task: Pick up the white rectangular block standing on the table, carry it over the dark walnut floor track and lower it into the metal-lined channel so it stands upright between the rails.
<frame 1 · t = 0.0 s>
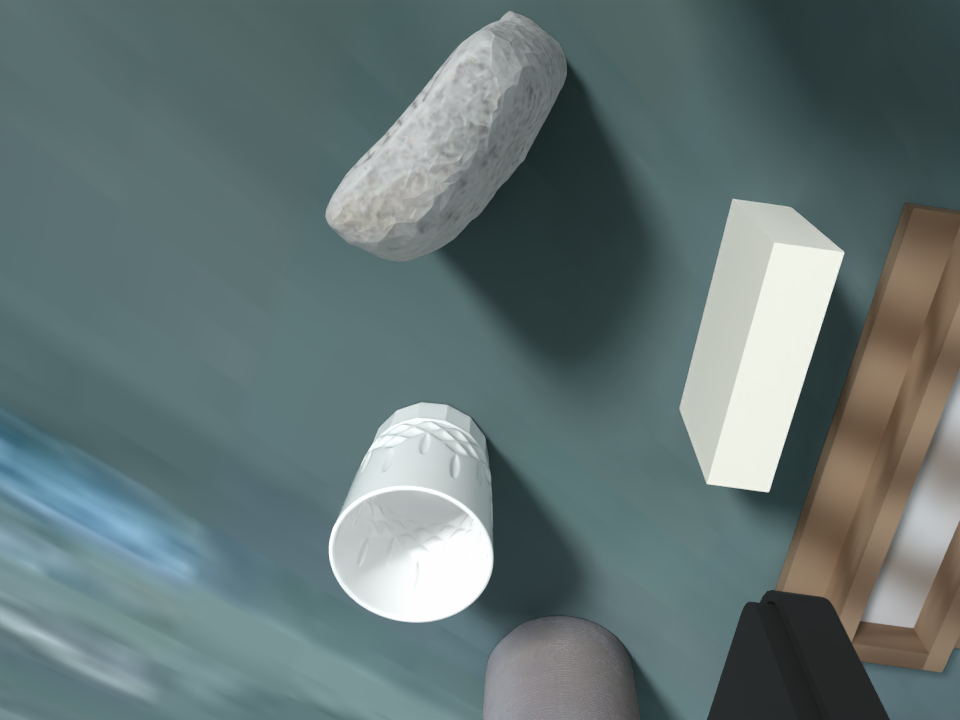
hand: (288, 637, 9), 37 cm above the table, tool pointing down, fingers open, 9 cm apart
white rectangular block: (732, 312, 46), on the table
decorative stone: (472, 120, 43), on the table
pillar candle: (557, 669, 57), on the table
track frame: (934, 444, 49), on the table
white cup: (431, 451, 51), on the table
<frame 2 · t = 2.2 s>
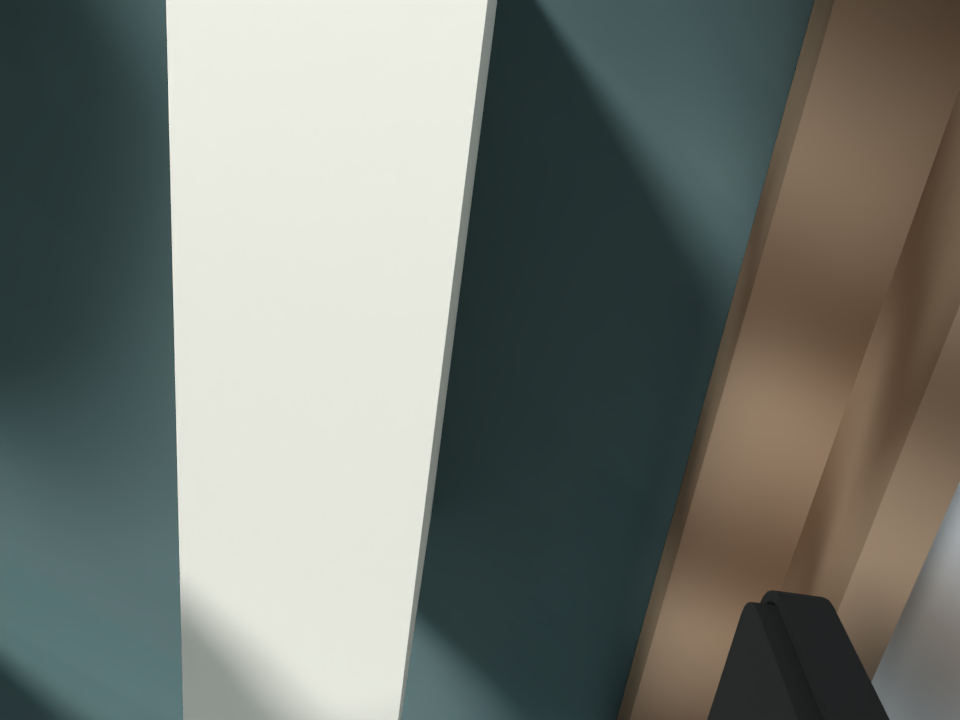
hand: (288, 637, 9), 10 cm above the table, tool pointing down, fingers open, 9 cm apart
white rectangular block: (389, 264, 18), on the table
track frame: (914, 580, 20), on the table
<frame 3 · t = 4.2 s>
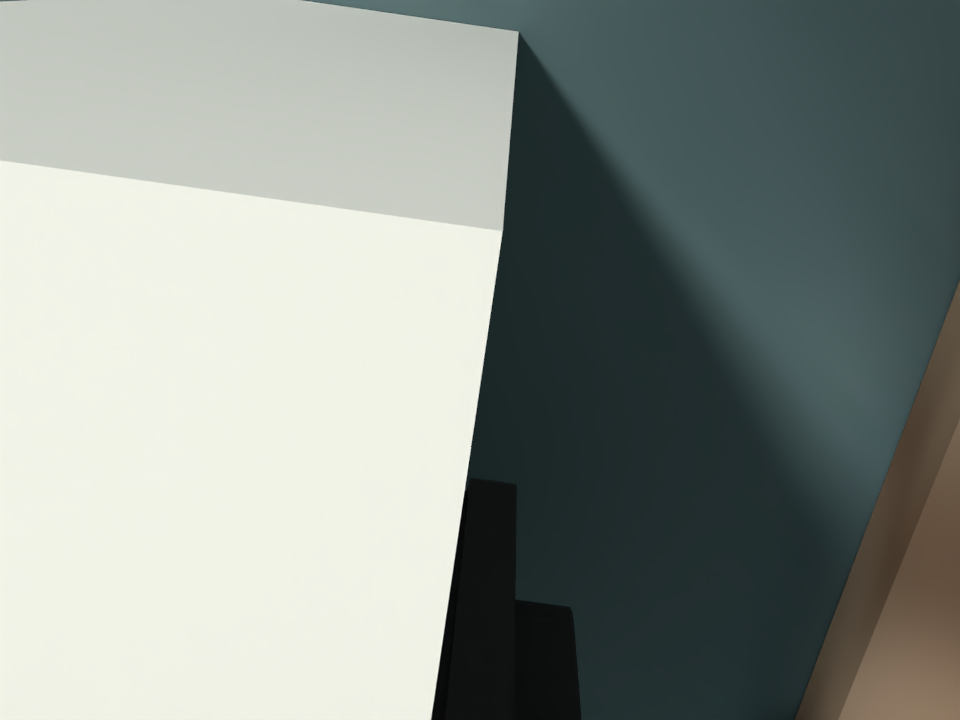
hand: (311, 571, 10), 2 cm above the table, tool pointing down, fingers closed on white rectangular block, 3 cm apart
white rectangular block: (341, 487, 12), on the table, touching gripper
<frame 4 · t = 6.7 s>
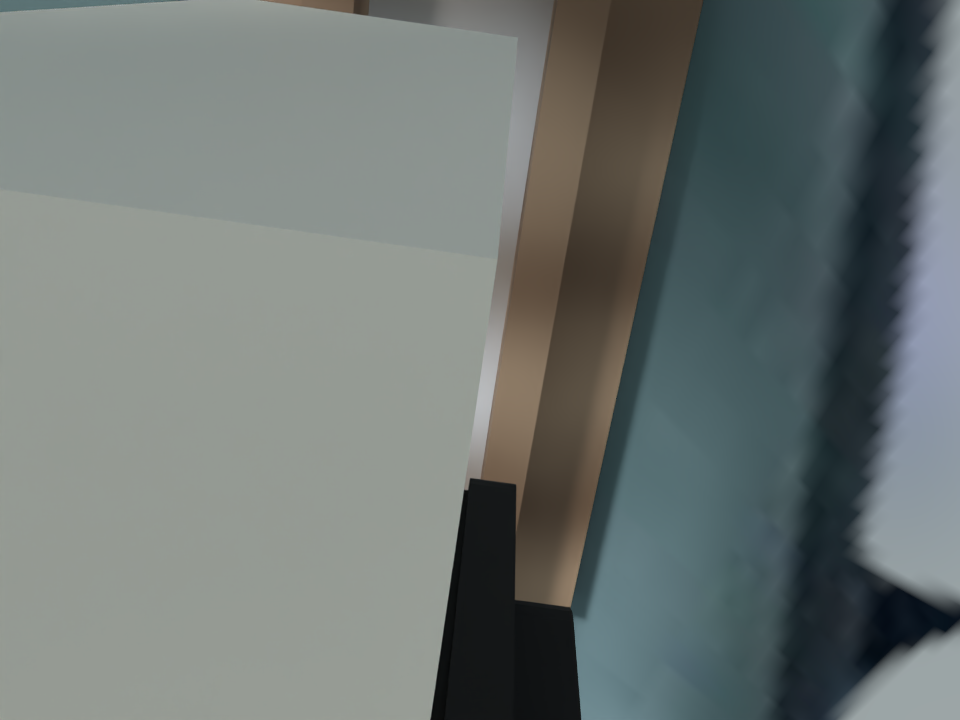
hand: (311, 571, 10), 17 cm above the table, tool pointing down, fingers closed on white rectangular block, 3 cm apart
white rectangular block: (341, 492, 12), point 15 cm above the table, touching gripper
track frame: (439, 215, 25), on the table
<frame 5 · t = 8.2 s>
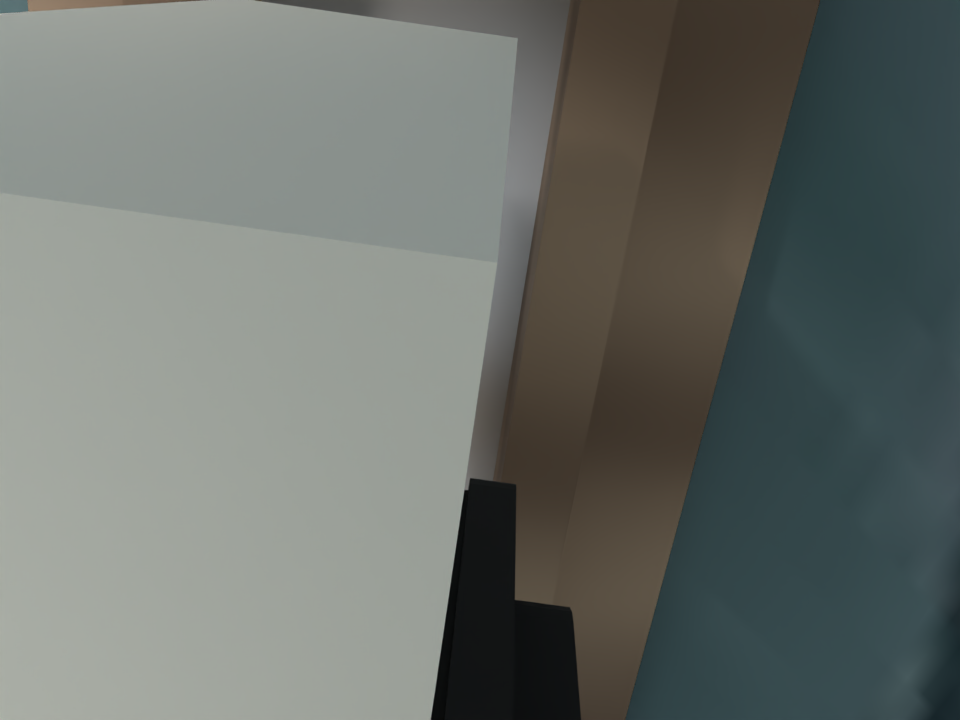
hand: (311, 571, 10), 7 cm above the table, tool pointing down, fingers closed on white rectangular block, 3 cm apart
white rectangular block: (341, 493, 12), point 5 cm above the table, touching gripper
track frame: (391, 331, 16), on the table
when the fingers open (4 cm above the table, at t = 9.5 s): white rectangular block drops 1 cm, resting on track frame.
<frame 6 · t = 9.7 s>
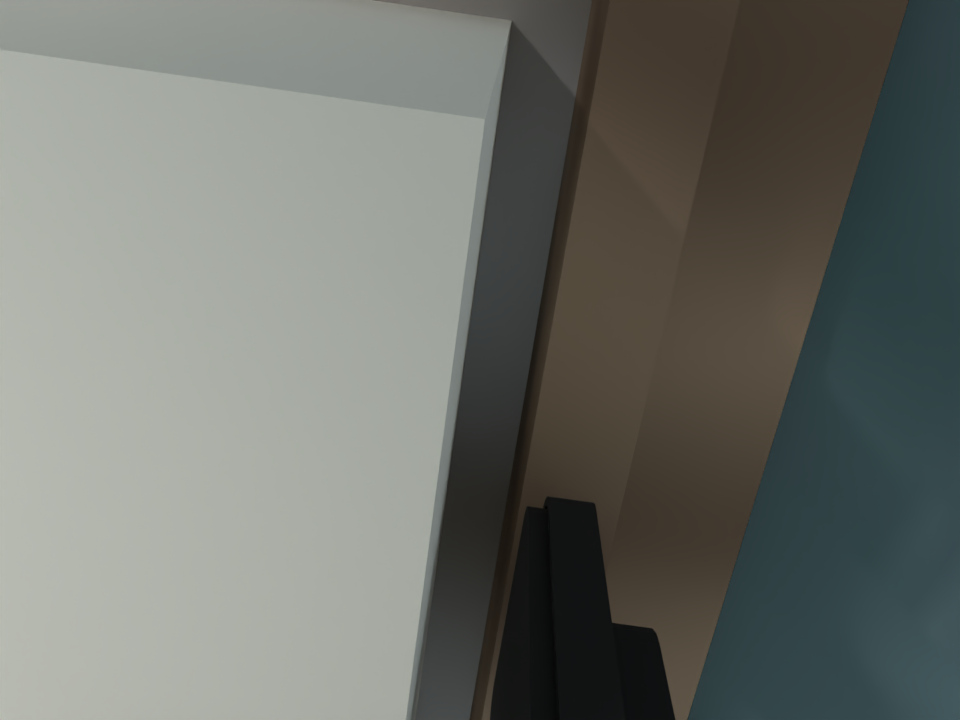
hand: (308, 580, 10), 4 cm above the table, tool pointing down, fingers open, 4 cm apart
white rectangular block: (350, 440, 13), point 1 cm above the table, touching track frame
track frame: (370, 409, 14), on the table
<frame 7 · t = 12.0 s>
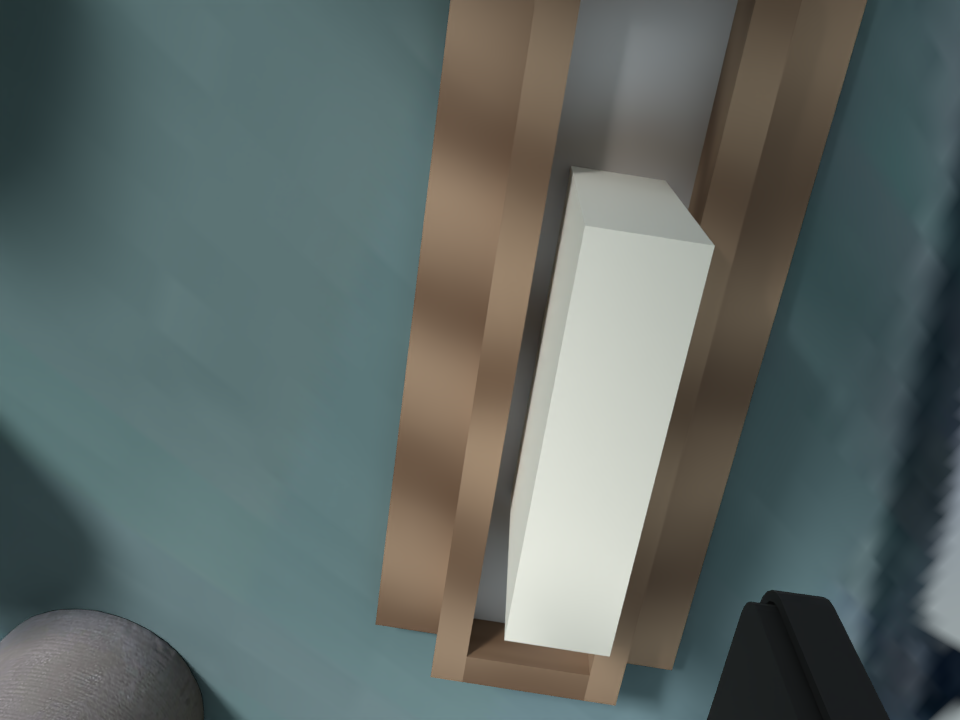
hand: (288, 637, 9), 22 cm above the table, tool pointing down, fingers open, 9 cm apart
white rectangular block: (582, 348, 29), point 1 cm above the table, touching track frame
pillar candle: (98, 690, 38), on the table
track frame: (583, 338, 31), on the table
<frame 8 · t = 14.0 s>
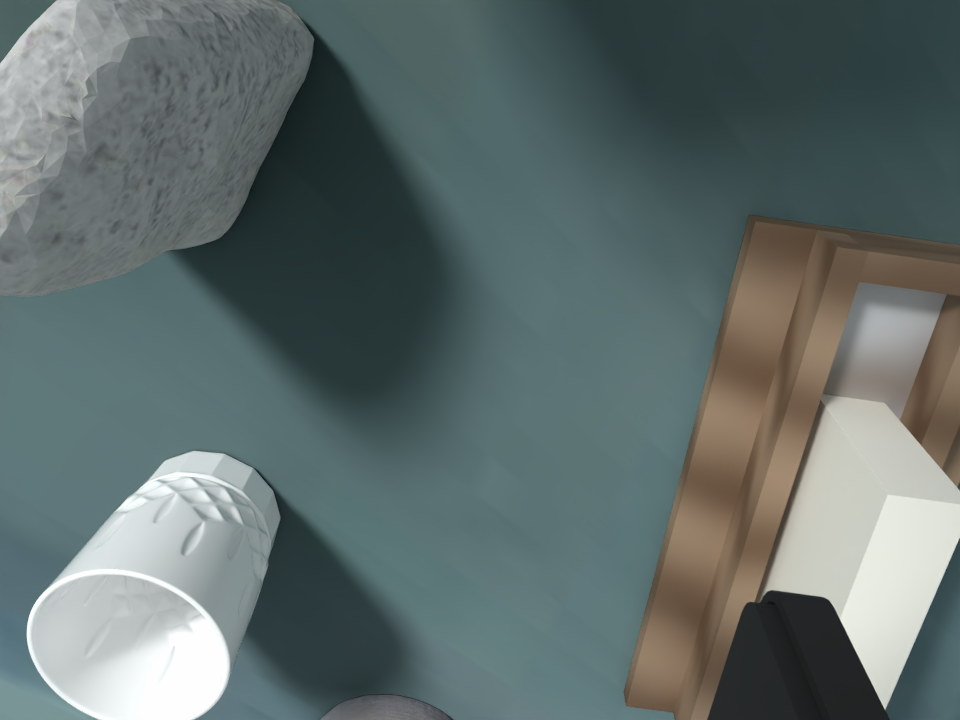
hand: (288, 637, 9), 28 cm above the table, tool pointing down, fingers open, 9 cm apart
white rectangular block: (810, 514, 40), point 1 cm above the table, touching track frame
decorative stone: (217, 113, 35), on the table
track frame: (804, 501, 41), on the table
white cup: (214, 506, 43), on the table
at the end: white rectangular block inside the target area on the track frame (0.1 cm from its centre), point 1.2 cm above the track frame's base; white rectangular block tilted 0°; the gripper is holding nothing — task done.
